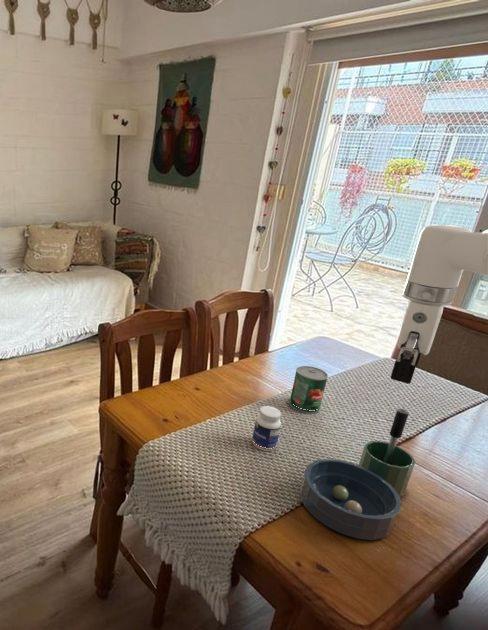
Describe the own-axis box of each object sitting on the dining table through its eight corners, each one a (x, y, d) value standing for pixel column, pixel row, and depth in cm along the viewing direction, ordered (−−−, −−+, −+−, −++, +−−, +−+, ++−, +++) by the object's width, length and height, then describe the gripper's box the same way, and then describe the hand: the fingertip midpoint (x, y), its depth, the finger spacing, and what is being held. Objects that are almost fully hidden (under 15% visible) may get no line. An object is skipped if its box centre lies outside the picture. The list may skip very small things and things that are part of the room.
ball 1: (348, 498, 92) (351, 486, 91) (344, 506, 90) (348, 494, 89) (332, 491, 94) (335, 480, 93) (328, 498, 92) (331, 487, 91)
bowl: (398, 507, 91) (406, 484, 89) (384, 558, 80) (393, 534, 78) (312, 470, 102) (317, 448, 100) (288, 510, 90) (293, 487, 88)
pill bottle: (246, 440, 112) (252, 407, 108) (264, 435, 114) (270, 402, 110) (263, 454, 107) (270, 419, 103) (281, 449, 109) (288, 415, 105)
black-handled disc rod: (392, 480, 98) (416, 411, 91) (389, 490, 95) (413, 419, 88) (371, 472, 100) (393, 403, 94) (368, 481, 97) (389, 411, 91)
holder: (407, 482, 98) (417, 453, 95) (400, 504, 92) (411, 474, 89) (360, 463, 104) (369, 435, 101) (351, 483, 98) (360, 454, 95)
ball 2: (361, 513, 89) (365, 502, 87) (358, 522, 86) (361, 510, 85) (344, 506, 90) (348, 494, 89) (341, 514, 88) (344, 502, 87)
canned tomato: (317, 417, 122) (326, 382, 118) (287, 408, 126) (294, 374, 122) (321, 404, 128) (329, 370, 124) (291, 396, 132) (298, 363, 128)
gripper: (450, 308, 74) (421, 395, 81) (457, 286, 86) (431, 363, 92) (397, 298, 79) (373, 381, 85) (410, 278, 91) (389, 353, 97)
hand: (403, 372), depth 89 cm, fingers open, 9 cm apart
